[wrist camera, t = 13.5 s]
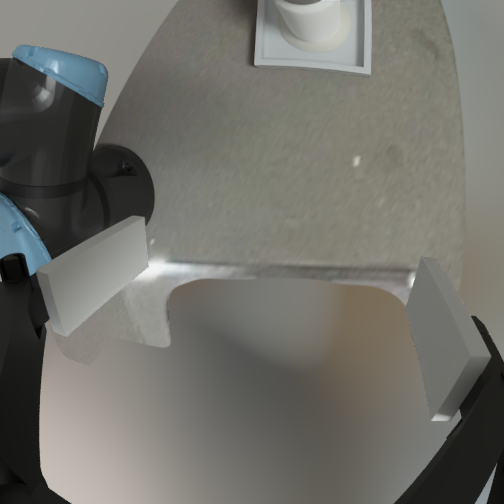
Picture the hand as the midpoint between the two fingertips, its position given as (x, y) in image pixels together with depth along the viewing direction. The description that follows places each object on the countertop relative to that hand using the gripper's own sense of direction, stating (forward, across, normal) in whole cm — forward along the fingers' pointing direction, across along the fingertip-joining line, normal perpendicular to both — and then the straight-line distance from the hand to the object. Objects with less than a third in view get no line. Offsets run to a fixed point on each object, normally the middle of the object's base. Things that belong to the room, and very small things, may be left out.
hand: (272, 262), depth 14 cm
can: (+26, -1, +20) cm, 33 cm away
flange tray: (+27, -1, +20) cm, 33 cm away
